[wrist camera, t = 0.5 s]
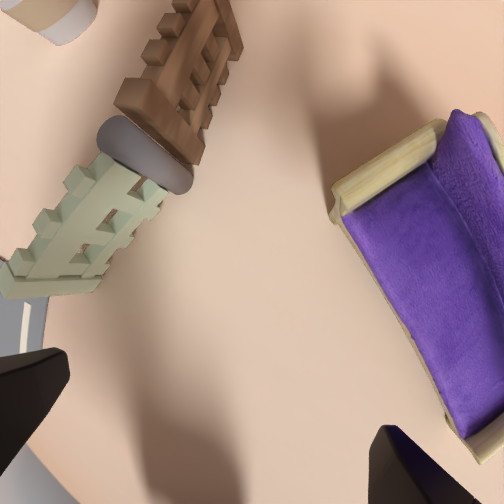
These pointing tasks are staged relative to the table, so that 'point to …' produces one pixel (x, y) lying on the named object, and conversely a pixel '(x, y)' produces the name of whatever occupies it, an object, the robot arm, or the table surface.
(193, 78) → the walnut fence section
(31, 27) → the coffee cup
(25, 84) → the table surface
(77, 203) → the sage fence section
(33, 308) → the card
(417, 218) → the toy sofa
